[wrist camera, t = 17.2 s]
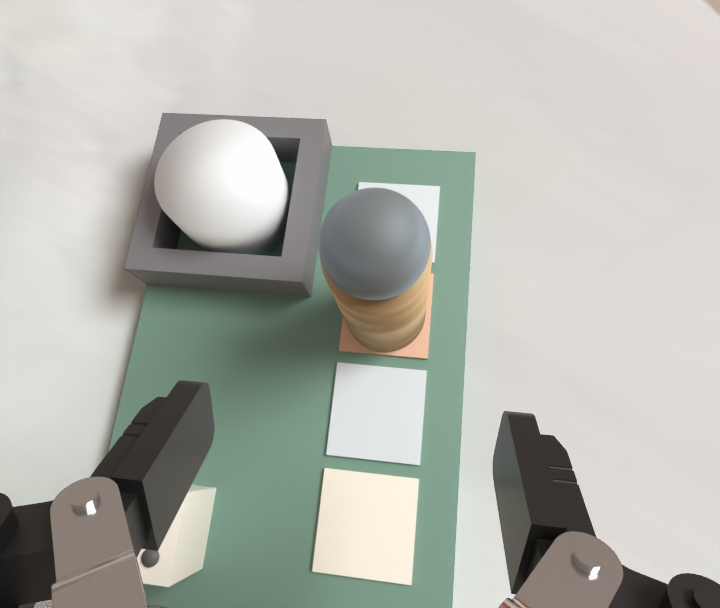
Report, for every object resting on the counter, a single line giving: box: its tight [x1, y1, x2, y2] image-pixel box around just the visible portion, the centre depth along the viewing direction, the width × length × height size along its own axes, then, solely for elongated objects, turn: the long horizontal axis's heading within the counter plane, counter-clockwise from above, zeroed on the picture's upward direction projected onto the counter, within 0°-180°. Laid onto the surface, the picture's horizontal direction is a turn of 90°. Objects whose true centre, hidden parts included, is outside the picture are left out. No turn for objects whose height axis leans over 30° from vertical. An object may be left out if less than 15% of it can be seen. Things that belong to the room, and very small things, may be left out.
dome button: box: [154, 119, 292, 255], centre depth 26 cm, size 6×6×4 cm
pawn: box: [319, 187, 433, 352], centre depth 21 cm, size 4×4×11 cm
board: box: [108, 113, 476, 608], centre depth 25 cm, size 17×24×5 cm
